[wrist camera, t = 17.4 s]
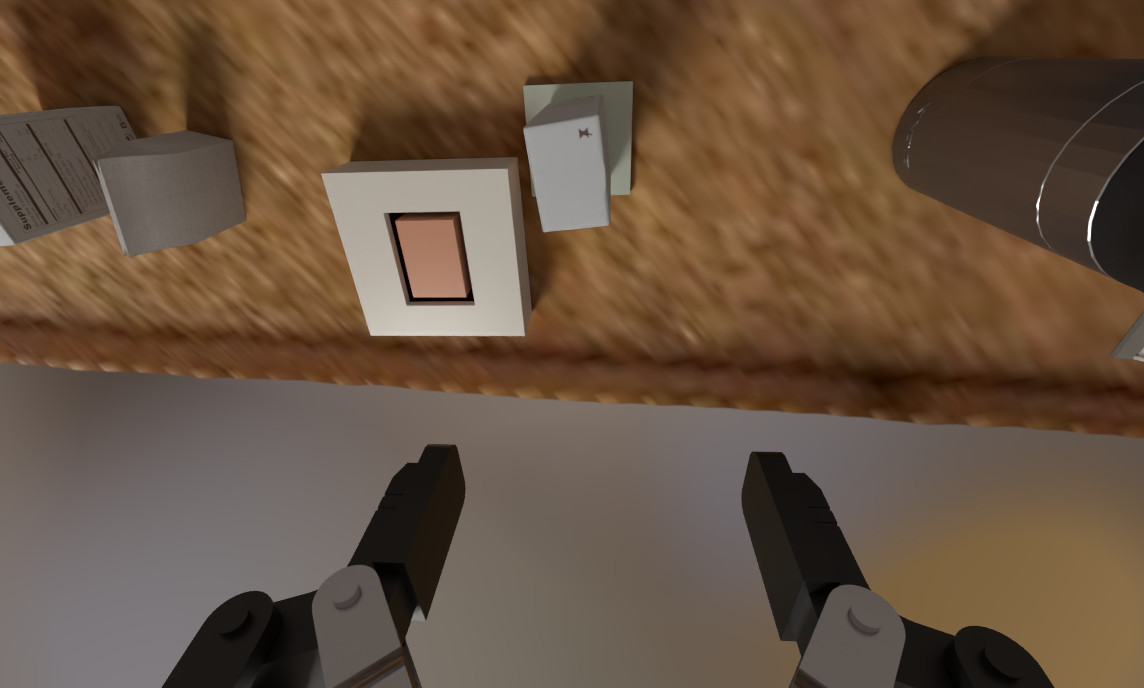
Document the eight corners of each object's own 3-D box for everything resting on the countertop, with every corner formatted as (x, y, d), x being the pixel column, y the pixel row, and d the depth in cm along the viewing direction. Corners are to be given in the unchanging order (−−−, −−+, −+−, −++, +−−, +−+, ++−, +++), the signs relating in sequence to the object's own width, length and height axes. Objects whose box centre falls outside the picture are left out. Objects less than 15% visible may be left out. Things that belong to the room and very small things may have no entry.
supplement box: (94, 201, 42) (-83, 252, 31) (40, 109, 38) (-184, 130, 27) (170, 198, 41) (16, 248, 30) (123, 104, 37) (-73, 124, 27)
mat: (632, 80, 34) (633, 81, 34) (629, 192, 38) (630, 194, 38) (524, 85, 35) (523, 85, 34) (532, 194, 39) (532, 196, 38)
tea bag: (232, 140, 38) (125, 165, 30) (246, 220, 42) (154, 262, 33) (186, 130, 38) (65, 152, 30) (204, 211, 42) (101, 251, 33)
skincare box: (546, 102, 35) (520, 123, 24) (603, 93, 34) (601, 110, 24) (559, 186, 38) (541, 235, 28) (612, 179, 37) (613, 225, 27)
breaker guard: (517, 156, 37) (507, 168, 34) (531, 311, 45) (524, 335, 41) (349, 161, 38) (321, 173, 35) (390, 312, 46) (370, 335, 42)
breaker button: (465, 206, 39) (452, 220, 36) (477, 278, 43) (466, 297, 39) (412, 207, 40) (395, 221, 36) (427, 279, 43) (413, 297, 40)
